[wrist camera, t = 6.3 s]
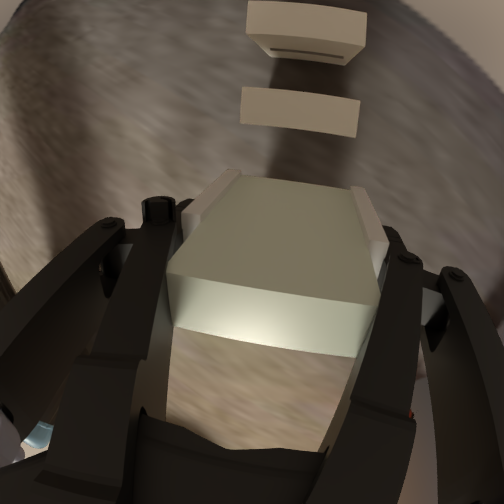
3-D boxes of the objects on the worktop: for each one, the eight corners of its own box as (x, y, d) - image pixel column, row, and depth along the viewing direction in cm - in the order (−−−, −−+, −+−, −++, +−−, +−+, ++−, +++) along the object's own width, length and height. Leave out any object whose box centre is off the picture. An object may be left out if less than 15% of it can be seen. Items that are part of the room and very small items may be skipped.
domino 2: (266, 115, 24) (239, 126, 15) (268, 90, 23) (242, 86, 14) (338, 124, 23) (355, 140, 14) (341, 99, 22) (360, 100, 13)
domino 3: (239, 210, 18) (168, 327, 9) (241, 175, 17) (160, 271, 8) (342, 225, 17) (360, 361, 8) (349, 189, 16) (383, 307, 7)
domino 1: (270, 58, 21) (245, 36, 13) (272, 35, 20) (248, 0, 11) (344, 67, 20) (365, 49, 12) (346, 43, 19) (367, 13, 11)
